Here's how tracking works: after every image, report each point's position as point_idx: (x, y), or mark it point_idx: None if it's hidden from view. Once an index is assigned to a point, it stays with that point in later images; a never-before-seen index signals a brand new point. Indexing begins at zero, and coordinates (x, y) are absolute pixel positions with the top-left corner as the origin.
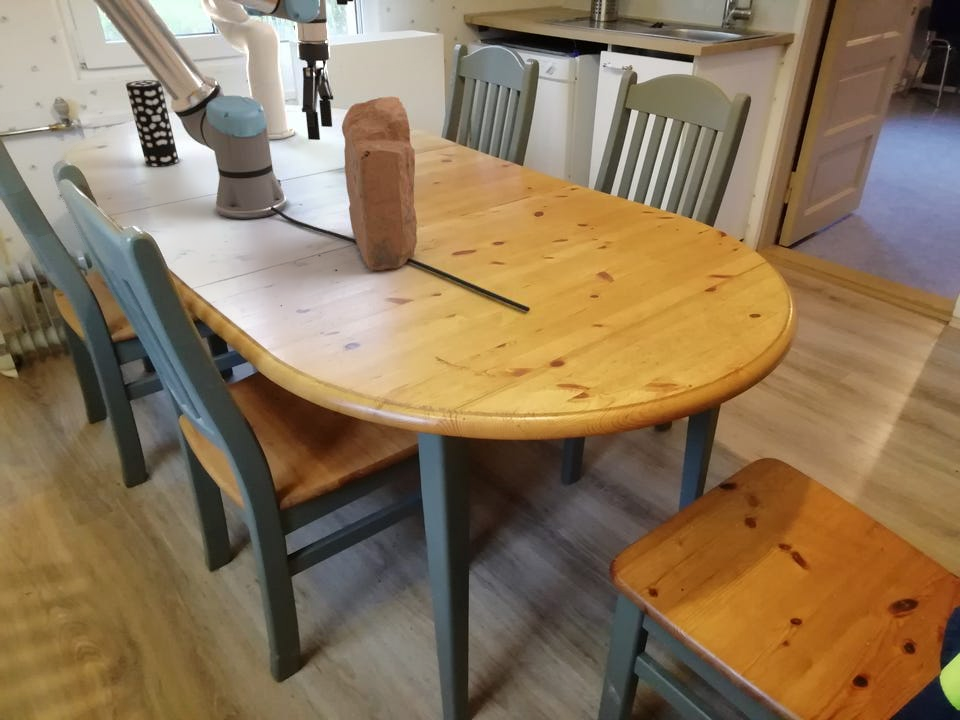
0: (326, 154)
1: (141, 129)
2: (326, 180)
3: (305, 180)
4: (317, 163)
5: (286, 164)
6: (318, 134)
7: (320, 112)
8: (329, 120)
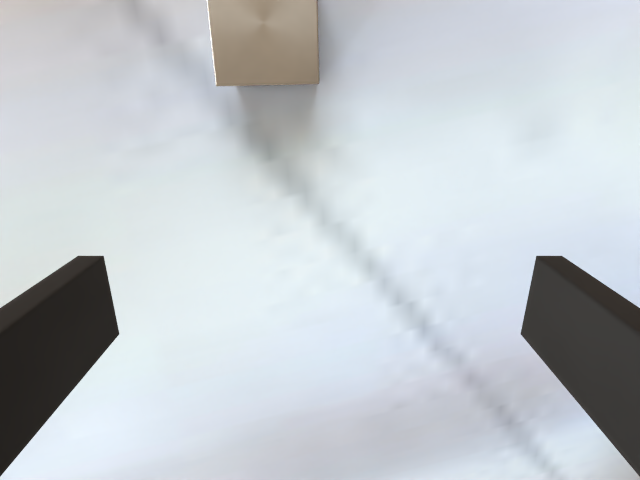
0: (35, 262)
1: None
2: (438, 170)
3: (435, 260)
4: (187, 269)
5: (225, 380)
6: (589, 277)
7: (49, 416)
8: (75, 295)
